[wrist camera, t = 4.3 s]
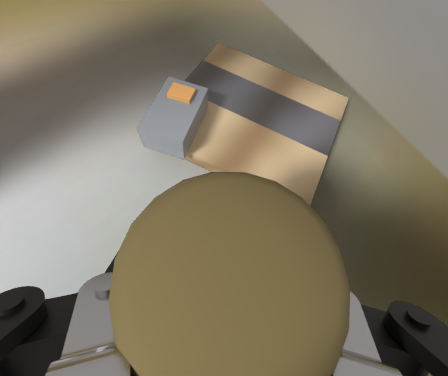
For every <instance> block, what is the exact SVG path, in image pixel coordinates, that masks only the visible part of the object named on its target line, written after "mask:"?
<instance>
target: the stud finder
mask: <svg viewBox="0 0 448 376" xmlns="http://www.w3.org/2000/svg"><path fill="white" fill-rule="evenodd" d="M207 105H208V88H205V87H202V86H199V85H196V84H192V83H189V82H186V81H182V80H179V79H176V78H173V77H169V76H168V78H167V80H166V81H165V83H164V84H163V86H162V88H161V89H160V91H159V93H158V94H157V96H156V98H155V99H154V101H153V103H152V104H151V106H150V108H149V109H148V111H147V112H146V114H145V116H144V117H143V119H142V121H141V122H140V124H139V126H138V127H137V130H138V133H139V135H140V138H141V141H142V143H143V146H144V147H146V148H149V149H152V150H155V151H158V152H162V153H165V154H168V155H171V156H174V157H177V158H181V159H185V157H186V155H187V153H188V150H189V148H190V146H191V144H192V142H193V139H194V137H195V135H196V133H197V131H198V128H199V126H200V124H201V122H202V120H203V117H204V115H205V113H206V111H207Z"/></svg>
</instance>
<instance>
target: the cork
mask: <svg viewBox="0 0 448 376" xmlns="http://www.w3.org/2000/svg"><path fill="white" fill-rule="evenodd" d="M109 309H110V315H111V321H112V328H113V334H114V340H115V347H116V348H117V349H118V350H119V351H120V352H121V353H122V354H123V355H124V357H125V358H126V359H127V360H128V362H129V363H130V369H131V376H331V375H332V373H333V372H334V371H335V369H336V366H337V363H338V360H339V358H340V355H341V352H342V349H343V346H344V343H345V341H346V338H347V335H348V332H349V317H350V285H349V281H348V277H347V273H346V269H345V265H344V261H343V257H342V253H341V250H340V248H339V247H338V245H337V243H336V241H335V239H334V238H333V236H332V234H331V232H330V230H329V229H328V227H327V225H326V223H325V221H324V220H323V219H322V218H321V217H320V216H319V215H318V214H317V213H316V212H315V211H314V210H313V209H312V208H311V206H310V205H309V204H308V203H307V202H306V201H305V200H304V199H303V198H302V197H300V196H299V195H297V194H296V193H294V192H292V191H291V190H289V189H287V188H286V187H284V186H283V185H281V184H279V183H278V182H276V181H273V180H270V179H267V178H263V177H260V176H256V175H253V174H250V173H246V172H210V173H207V174H203V175H200V176H196V177H192V178H189V179H185V180H183V181H181V182H179V183H178V184H176V185H175V186H173V187H171V188H170V189H168V190H166V191H165V192H163V193H162V194H160V195H158V196H157V197H155V198H154V199H153V201H152V202H151V203H150V204H149V205H148V206H147V207H146V208H145V210H144V211H143V212H142V213H141V214H140V215H139V216H138V217H137V218H136V220H135V221H134V222H133V223H132V224H131V226H130V228H129V230H128V233H127V235H126V237H125V239H124V241H123V243H122V245H121V247H120V250H119V252H118V254H117V256H116V258H115V261H114V268H113V275H112V281H111V288H110V295H109Z"/></svg>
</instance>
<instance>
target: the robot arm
mask: <svg viewBox="0 0 448 376" xmlns="http://www.w3.org/2000/svg"><path fill="white" fill-rule="evenodd" d="M118 252H119V251H118ZM117 254H118V253H117ZM117 254H116V256H117ZM116 256H115V258H116ZM115 258H114V259H113V261H112V262H111V264H110V265H109V267H108V269H107V270H106V272H105V273H103V274H100V275H98V276H95V277H93V278H91V279H90V280H88V281H87V282H86V283H85V284H84V285H83V286H82V287H81V288H80V290H79V292H78V293H75V294H71V295H66V296H61V297H56V298H51V299H46V300H45V295H44V292H43V290H41V289H40V288H38V287H33V286H25V287H18V288H14V289H11V290H8V291H5V292H3V293H0V376H131V369H130V363H129V362H128V360H127V359H126V358H125V357H124V355H123V354H122V353H121V352H120V351H119V350H118V349H117V348H116V347H115V340H114V334H113V328H112V321H111V315H110V309H109V295H110V288H111V281H112V275H113V268H114V261H115ZM428 373H430V374H432V375H433V376H448V327H447V326H446V325H445V324H443V323H442V322H441V321H439V320H438V319H437V318H435V317H434V316H433V315H431V314H430V313H428V312H427V311H425V310H424V309H422V308H420V307H418V306H416V305H413V304H410V303H407V302H403V301H394V302H392V303H391V304H390V305H389V307H388V310H387V312H385V311H381V310H378V309H374V308H371V307H367V306H364V305H361V304H360V302H359V300H358V299H357V297H356V296H355V295H354V294H353V293H352V292H351V291H350V317H349V332H348V335H347V338H346V341H345V343H344V346H343V349H342V352H341V355H340V358H339V360H338V363H337V366H336V369H335V371H334V372H333V373H332V375H331V376H427V375H428Z"/></svg>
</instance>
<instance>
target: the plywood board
mask: <svg viewBox="0 0 448 376" xmlns="http://www.w3.org/2000/svg"><path fill="white" fill-rule="evenodd" d="M185 81H186V82H189V83H192V84H196V85H199V86H202V87H205V88H208V105H207V111H206V113H205V115H204V117H203V120H202V122H201V124H200V126H199V128H198V131H197V133H196V135H195V137H194V139H193V142H192V144H191V146H190V148H189V150H188V153H187V155H186V157H185V159H187V160H189V161H191V162H193V163H195V164H197V165H199V166H201V167H203V168H205V169H207V170H209V171H211V172H246V173H250V174H253V175H256V176H260V177H263V178H267V179H270V180H273V181H276V182H278V183H279V184H281V185H283V186H284V187H286V188H287V189H289V190H291V191H292V192H294V193H296V194H297V195H299V196H300V197H302V198H303V199H304V200H305V201H306V202H307V203H308V204H309V205H311V202H312V199H313V197H314V194H315V191H316V188H317V186H318V183H319V180H320V177H321V174H322V172H323V169H324V166H325V163H326V160H327V158H328V155H329V152H330V149H331V146H332V144H333V141H334V138H335V135H336V133H337V130H338V127H339V124H340V121H341V119H342V116H343V113H344V110H345V107H346V105H347V102H348V99H349V98H347V97H345V96H343V95H340V94H338V93H336V92H333V91H331V90H329V89H326V88H324V87H322V86H319V85H317V84H315V83H312V82H310V81H308V80H305V79H303V78H301V77H298V76H296V75H294V74H291V73H289V72H287V71H284V70H282V69H280V68H277V67H275V66H273V65H270V64H268V63H266V62H263V61H261V60H259V59H256V58H254V57H252V56H249V55H247V54H244V53H242V52H240V51H237V50H235V49H233V48H230V47H228V46H226V45H223V44H221V43H218V44H217V45H216V46H215V47H214V48H213V49H212V51H211V52H210V53H209V54H208V55H207V56H206V57H205V59H204V60H203V61H202V62H201V63H200V64H199V65H198V67H197V68H196V69H195V70H194V71H193V72H192V73H191V75H190V76H189V77H188V78H187V79H186V80H185Z"/></svg>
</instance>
